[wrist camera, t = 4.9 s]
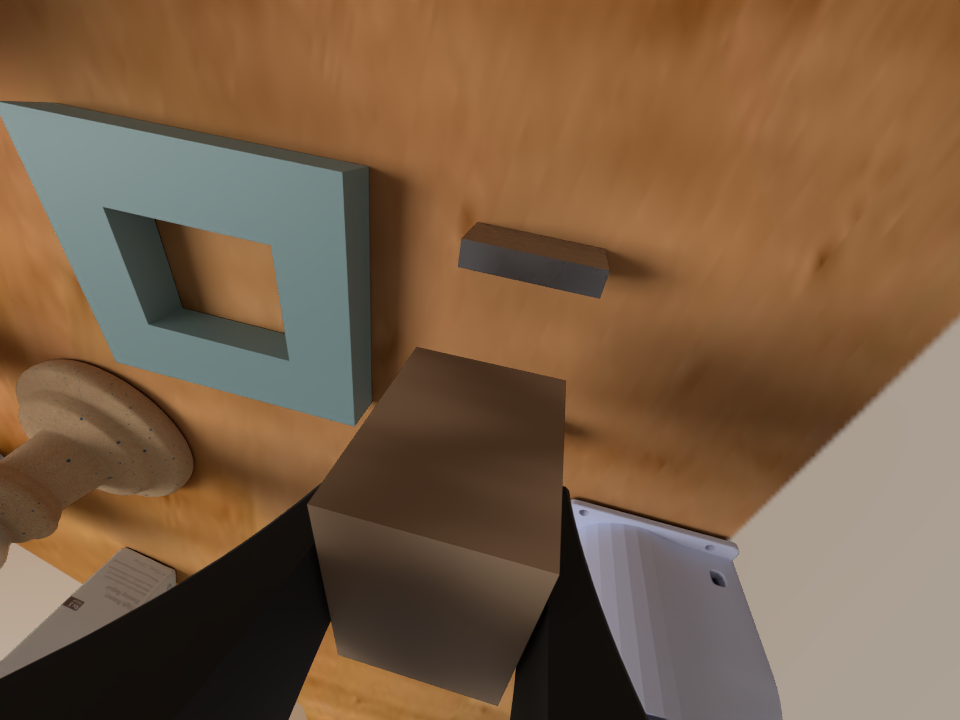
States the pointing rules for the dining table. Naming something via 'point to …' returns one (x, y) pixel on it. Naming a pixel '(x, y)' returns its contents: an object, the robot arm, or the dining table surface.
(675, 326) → the dining table surface
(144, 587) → the skincare box
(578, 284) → the metal stand
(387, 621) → the walnut block
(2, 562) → the candle holder
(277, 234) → the socket board
